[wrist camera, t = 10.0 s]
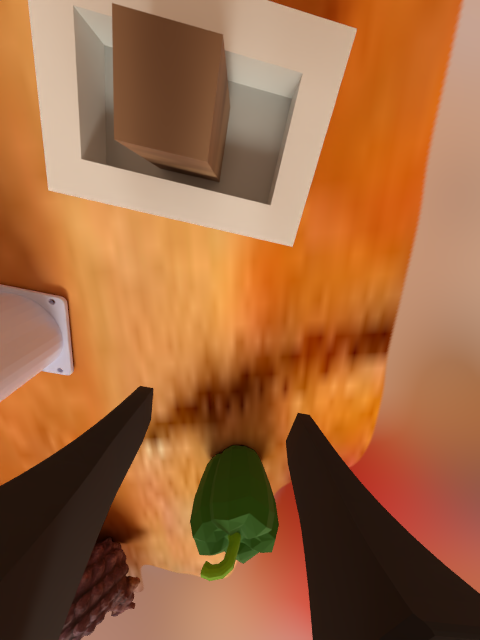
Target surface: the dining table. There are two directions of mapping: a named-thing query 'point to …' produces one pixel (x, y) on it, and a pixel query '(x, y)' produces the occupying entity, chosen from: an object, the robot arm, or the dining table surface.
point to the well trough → (244, 119)
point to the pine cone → (100, 591)
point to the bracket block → (170, 92)
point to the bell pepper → (233, 510)
